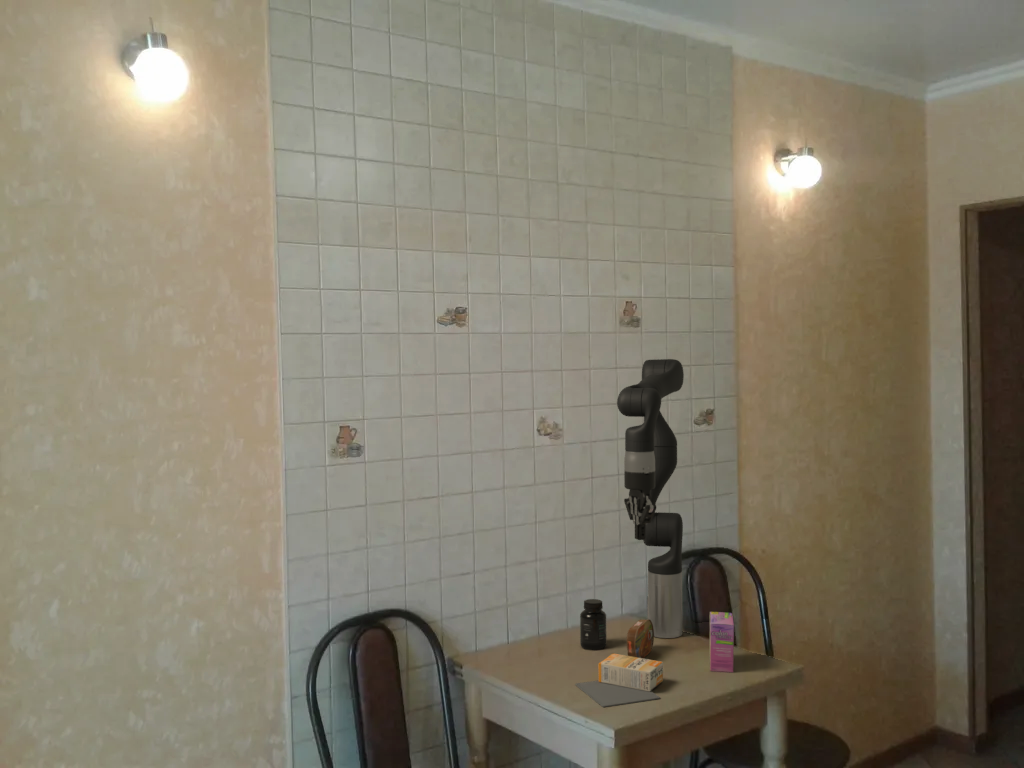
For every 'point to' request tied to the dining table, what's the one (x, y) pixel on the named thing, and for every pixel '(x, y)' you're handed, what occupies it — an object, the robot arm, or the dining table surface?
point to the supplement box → (630, 672)
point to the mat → (614, 693)
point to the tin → (640, 639)
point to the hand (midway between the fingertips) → (640, 539)
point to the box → (721, 642)
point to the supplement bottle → (593, 625)
